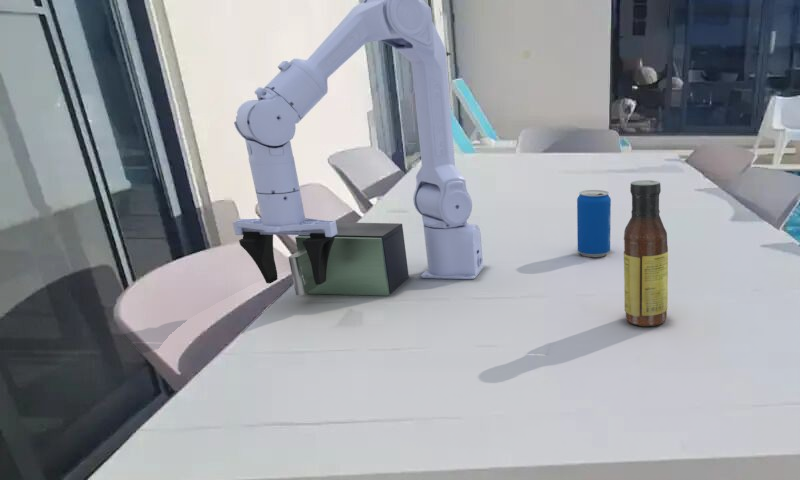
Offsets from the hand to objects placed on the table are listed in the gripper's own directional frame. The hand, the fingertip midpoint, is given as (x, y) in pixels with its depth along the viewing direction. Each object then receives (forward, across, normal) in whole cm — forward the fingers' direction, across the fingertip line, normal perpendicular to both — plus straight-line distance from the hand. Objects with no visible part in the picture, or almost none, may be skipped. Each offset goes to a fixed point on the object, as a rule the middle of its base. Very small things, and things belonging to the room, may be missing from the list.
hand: (296, 282), depth 97 cm
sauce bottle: (+4, +53, -2) cm, 53 cm away
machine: (+4, +5, +11) cm, 13 cm away
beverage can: (+4, +43, +34) cm, 55 cm away
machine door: (+4, +5, +3) cm, 7 cm away
